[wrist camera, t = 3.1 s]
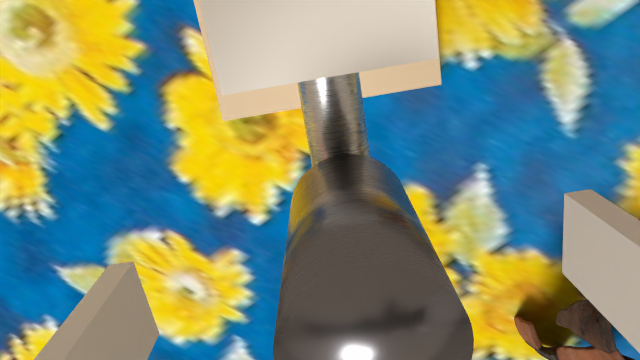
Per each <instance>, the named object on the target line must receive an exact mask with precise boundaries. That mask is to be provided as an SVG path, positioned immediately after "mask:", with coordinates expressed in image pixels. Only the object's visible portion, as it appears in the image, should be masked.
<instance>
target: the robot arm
mask: <svg viewBox="0 0 640 360" xmlns="http://www.w3.org/2000/svg"><path fill="white" fill-rule="evenodd" d="M562 273H563V274H564V275H565V276H566V277H567V278H568V279H569V280H570V282H571V283H572V284H573V285H574V286H575V287H576V288H577V289H578V290H579V291H580V292H581V293H582V294H583V295H584V296H585V297H586V298H587V299H588V300H589V301H590V302H591V303H592V304H593V305H594V306H595V307H596V308H597V309H598V311H599V312H600V313H601V314H602V315H603V316H604V317H605V318H606V319H607V320H608V321H609V322H610V323H611V324H612V325H613V326H614V327H615V328H616V329H617V330H618V331H619V332H620V333H621V334H622V335H623V336H624V337H625V339H626V340H627V341H628V342H629V343H630V344H631V345H632V346H633V347H634V348H635V349H636V350H637V351H638V352H639V353H640V220H638V219H637V218H635V217H634V216H632V215H631V214H629V213H627V212H626V211H624V210H623V209H621V208H620V207H618V206H616V205H615V204H613V203H612V202H610V201H608V200H607V199H605V198H604V197H602V196H601V195H599V194H597V193H596V192H594V191H593V190H591V189H589V190H583V191H577V192H570V193H565V194H564V226H563V258H562ZM158 335H159V331H158V329H157V326H156V323H155V320H154V318H153V315H152V312H151V309H150V307H149V304H148V301H147V298H146V296H145V293H144V290H143V287H142V285H141V282H140V279H139V276H138V273H137V271H136V268H135V265H134V262H127V263H120V264H114V265H109V266H108V267H107V268H106V270H105V271H104V272H103V273H102V275H101V276H100V277H99V278H98V280H97V281H96V282H95V284H94V285H93V286H92V287H91V289H90V290H89V291H88V292H87V294H86V295H85V296H84V297H83V299H82V300H81V301H80V302H79V304H78V305H77V306H76V307H75V309H74V310H73V311H72V312H71V314H70V315H69V316H68V318H67V319H66V320H65V321H64V323H63V324H62V325H61V326H60V328H59V329H58V330H57V331H56V333H55V334H54V335H53V336H52V338H51V339H50V340H49V341H48V343H47V344H46V345H45V346H44V348H43V349H42V350H41V351H40V353H39V354H38V355H37V357H36V358H35V359H34V360H147V359H148V356H149V354H150V352H151V350H152V348H153V346H154V344H155V341H156V339H157V337H158Z"/></svg>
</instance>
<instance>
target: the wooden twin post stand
mask: <svg viewBox="0 0 640 360" xmlns="http://www.w3.org/2000/svg"><path fill="white" fill-rule="evenodd" d="M194 4H195V8H196V12H197V16H198V21H199V25H200V29H201V33H202V37H203V41H204V45H205V49H206V53H207V57H208V61H209V65H210V69H211V73H212V77H213V81H214V85H215V89H216V94H217V98H218V102H219V106H220V110H221V114H222V118H223V121H226V120H232V119H238V118H244V117H250V116H256V115H262V114H268V113H274V112H280V111H286V110H292V109H298V108H302V107H301V101H300V96H299V90H298V85H297V83H298V82H303V81H309V80H315V79H321V78H327V77H333V76H339V75H345V74H351V73H356V72H359V76H360V84H361V91H362V98H363V97H369V96H375V95H381V94H387V93H393V92H399V91H405V90H411V89H417V88H423V87H429V86H435V85H441V73H440V58H439V44H438V29H437V15H436V1H435V0H194Z"/></svg>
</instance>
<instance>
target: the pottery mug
mask: <svg viewBox="0 0 640 360" xmlns="http://www.w3.org/2000/svg"><path fill="white" fill-rule="evenodd" d="M514 320H515V324H516V327H517V329H518V331H519V333H520V335H521V336H522V338H523V339H524V340H525V342H526V343H527V344H528V345H530V346H531V347H532V348H534V349H535V350H536V351H537V352H538V353H539V354H540V355H541V356H543V357H545V358H546V359H548V360H635V359H632V358H630V357H627V356H624V355H622V354H621V353H620V352H619V350H618V349H617V348H616V344H615V341H614V337H613V334H612V324H611V323H610V322H609V321H608V320H607V319H606V318H605V317H604V316H603V315H602V314H601V313H600V312H599V311H598V309H597V308H596V307H595V306H594V305H593V304H592V303H591V302H590V301H589V300H579V301H577V302H575V303H573V304H572V305H570V306H569V307H568V308H566V309H563V310H561V311H559V313H558V315H557V318H556V324H557V325H559V326H563V327H565V328H569V329H570V330H571V331H572V332H574V333H575V334H576V335H578V336H580V337H582V338H583V339H584V340H586V341H587V342H588V343H590V344H591V345H592V346H589V347H573V346H556V347H544V346H542V344H541V342H540V340H539V338H538V335H537V333H536V330H535V327H534V324H533V323H532V322H530V321H525V320H524V319H523V318H521V317H520V316H515V318H514Z"/></svg>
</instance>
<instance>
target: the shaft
mask: <svg viewBox="0 0 640 360" xmlns="http://www.w3.org/2000/svg"><path fill="white" fill-rule="evenodd" d="M297 85H298V90H299V96H300V101H301V107H302V112H303V118H304V123H305V129H306V134H307V140H308V145H309V151H310V156H311V162H312V167H311V168H310V169H309V170H308V171H307V172H306V173H305V174H304V175H303V176H302V178H301V179H300V181H299V182H298V184H297V186H296V188H295V190H294V193H293V196H292V202H291V209H290V217H289V225H288V233H287V241H286V249H285V257H284V265H283V273H282V281H281V289H280V296H279V304H278V312H277V320H276V328H275V336H274V344H273V357H274V360H471V359H472V354H473V342H474V338H473V331H472V326H471V323H470V320H469V317H468V315H467V313H466V311H465V309H464V307H463V305H462V303H461V301H460V299H459V297H458V295H457V293H456V291H455V289H454V287H453V285H452V283H451V281H450V279H449V277H448V275H447V273H446V271H445V269H444V267H443V265H442V263H441V261H440V260H439V258H438V256H437V254H436V252H435V250H434V248H433V246H432V244H431V242H430V240H429V238H428V236H427V234H426V232H425V230H424V228H423V226H422V224H421V222H420V220H419V218H418V216H417V214H416V212H415V210H414V208H413V206H412V204H411V202H410V200H409V198H408V196H407V194H406V192H405V190H404V188H403V186H402V184H401V182H400V180H399V179H398V177H397V176H396V175H395V174H394V172H393V171H392V170H391V169H390V168H388V167H387V166H386V165H385V164H383V163H381V162H380V161H378V160H376V159H373V158H371V157H370V152H369V144H368V137H367V129H366V122H365V114H364V107H363V99H362V91H361V84H360V76H359V72H356V73H351V74H345V75H339V76H333V77H327V78H321V79H315V80H309V81H303V82H298V83H297Z"/></svg>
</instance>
